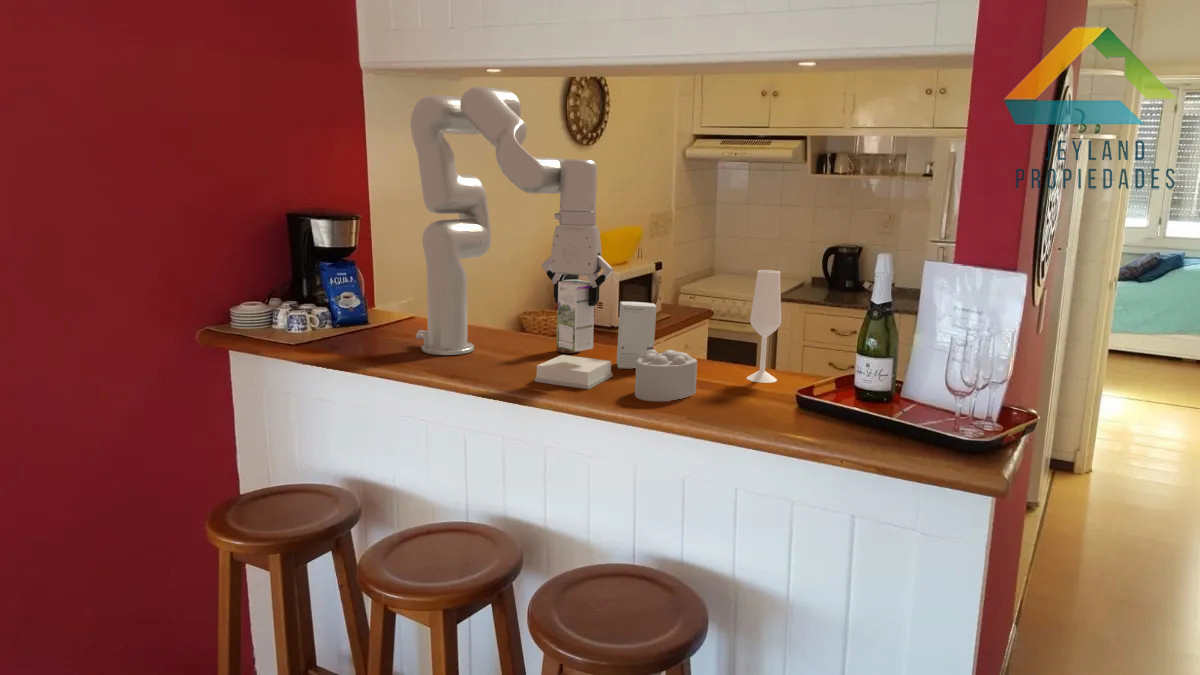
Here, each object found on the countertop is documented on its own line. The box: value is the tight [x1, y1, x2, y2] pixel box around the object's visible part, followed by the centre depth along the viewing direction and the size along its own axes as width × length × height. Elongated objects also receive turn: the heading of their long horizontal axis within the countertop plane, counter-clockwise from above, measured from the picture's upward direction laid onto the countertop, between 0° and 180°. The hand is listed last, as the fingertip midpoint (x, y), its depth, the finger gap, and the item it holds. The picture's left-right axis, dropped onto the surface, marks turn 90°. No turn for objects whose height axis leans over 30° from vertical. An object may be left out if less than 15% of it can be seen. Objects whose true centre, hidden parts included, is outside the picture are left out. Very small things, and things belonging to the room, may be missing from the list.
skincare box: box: [616, 301, 657, 370], centre depth 199 cm, size 8×6×15 cm
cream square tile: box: [534, 354, 614, 390], centre depth 187 cm, size 13×13×4 cm
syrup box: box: [557, 279, 595, 352], centre depth 184 cm, size 6×6×14 cm
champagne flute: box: [746, 269, 782, 384], centre depth 189 cm, size 7×7×24 cm
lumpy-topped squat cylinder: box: [634, 348, 698, 402], centre depth 176 cm, size 10×13×9 cm
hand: (576, 303), depth 184 cm, fingers closed on syrup box, 7 cm apart
